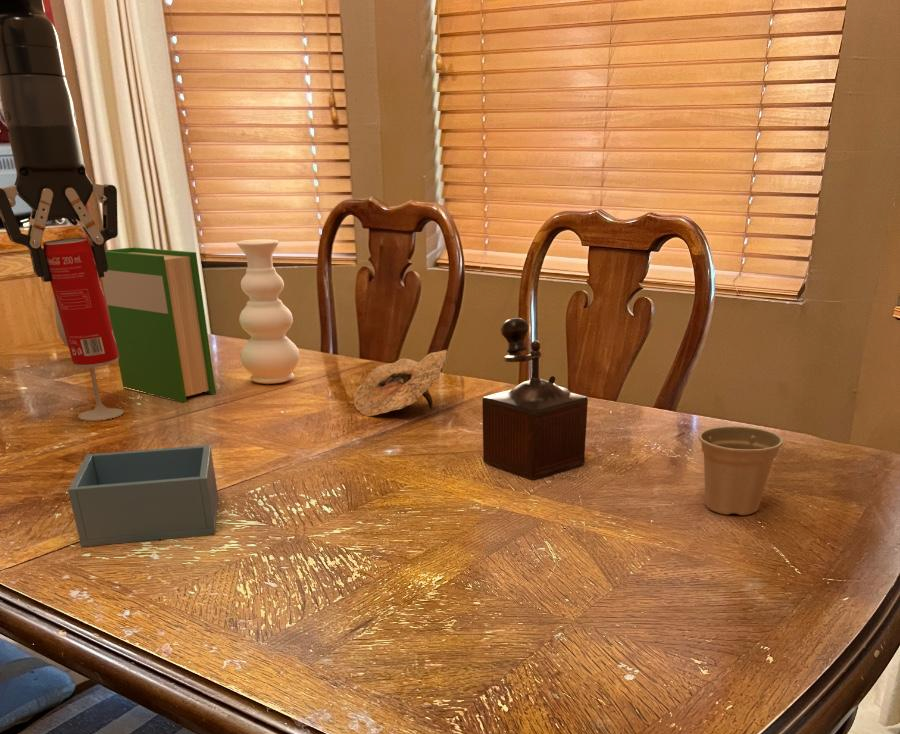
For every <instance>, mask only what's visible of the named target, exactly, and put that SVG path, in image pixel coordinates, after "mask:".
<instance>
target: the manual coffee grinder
mask: <svg viewBox="0 0 900 734" xmlns="http://www.w3.org/2000/svg"><path fill="white" fill-rule="evenodd" d="M528 332H529V324H528V322H527V320H524V319H523V318H521V317H514V318H509V319H507V320H505V321H504V322H503V323H502V324H501V326H500V333H501V335H502V336H503V337H504V338H505V340H506V342H507V343H508V346H507V350H506V352H507V353H508V354H507V355H504V362H506V363H525V362H529V361H531V377H530V379H529V380H526V381H522V382H520V383H519V384H517V385H516V386H514V387H513V388H511V389H508V390H505V391H500V392H496V393H493V394H489V395H486V396H482V403H481V404H482V405H481V406H482V454H483V457H482V460H483V462H484V463H486V464H487V465H489V466H491V467H493V468H496V469H500V470H502V471H504V472H508V473H509V474H512V475H516V476H519V477H522V478H526V479H529V480H531V481H533V480H537V479H540V478H545V477H548V476H551V475H555V474H558V473H561V472H564V471H568V470H570V469H574V468H577V467H580V466H583V465H584V464H585V463H586V458H585V453H586V440H587V439H586V438H587V423H588V405H589V404H588V403H589V398H588V396H587V395H581V394H578V393H574V392H571V391H570V390H569V389H568V388H566V387H563V386H559V385H558V384H556V383H555V382H556V376H554V375H551V376H550V377H549V379H548V380H546V379H543V378H540V366H539V365H540V358H541V357H542V352H541V351H540V349H541V343H540V341H539V340H534V341H531V342H530V349H531V351H530V352H529V353H530V354H527V355H521V354H522V353H523V352H524V351H527V349H528V347H527V346H526V344H525V338H526V336H527V333H528Z"/></svg>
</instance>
